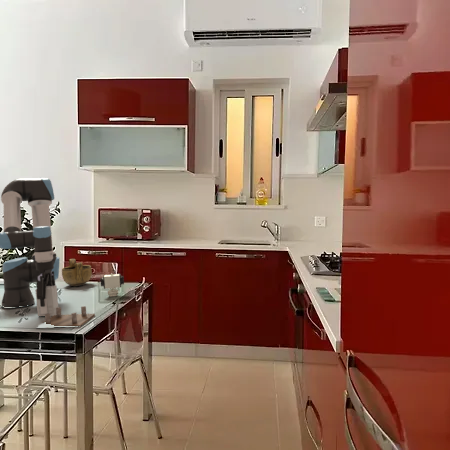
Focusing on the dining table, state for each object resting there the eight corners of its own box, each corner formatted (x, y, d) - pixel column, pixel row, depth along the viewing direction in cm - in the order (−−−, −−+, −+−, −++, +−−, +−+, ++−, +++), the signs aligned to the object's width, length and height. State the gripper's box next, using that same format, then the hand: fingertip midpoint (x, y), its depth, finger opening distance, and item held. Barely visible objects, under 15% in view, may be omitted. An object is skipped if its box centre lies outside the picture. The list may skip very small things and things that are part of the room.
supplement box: (59, 312, 219) (57, 285, 218) (54, 316, 212) (51, 288, 211) (43, 313, 219) (40, 286, 218) (37, 317, 211) (35, 289, 211)
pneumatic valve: (124, 295, 249) (123, 272, 248) (101, 298, 246) (99, 274, 245) (124, 293, 254) (123, 271, 253) (101, 295, 251) (100, 273, 250)
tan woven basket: (59, 284, 292) (57, 260, 291) (87, 280, 301) (86, 257, 300) (66, 290, 273) (64, 264, 272) (96, 285, 281) (94, 260, 280)
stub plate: (36, 329, 192) (35, 316, 192) (54, 317, 210) (53, 306, 210) (80, 327, 191) (79, 315, 191) (94, 315, 209) (94, 304, 208)
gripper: (42, 263, 203) (46, 316, 205) (61, 257, 224) (65, 305, 225) (25, 264, 204) (29, 317, 205) (46, 258, 224) (49, 306, 226)
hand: (48, 311), depth 215 cm, fingers closed on supplement box, 8 cm apart
